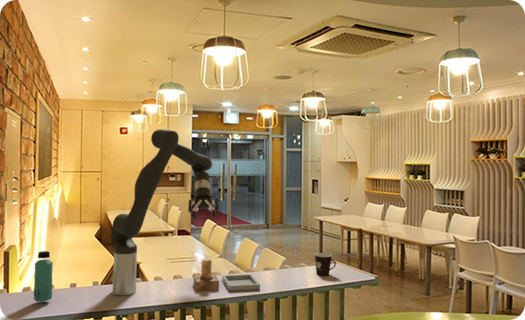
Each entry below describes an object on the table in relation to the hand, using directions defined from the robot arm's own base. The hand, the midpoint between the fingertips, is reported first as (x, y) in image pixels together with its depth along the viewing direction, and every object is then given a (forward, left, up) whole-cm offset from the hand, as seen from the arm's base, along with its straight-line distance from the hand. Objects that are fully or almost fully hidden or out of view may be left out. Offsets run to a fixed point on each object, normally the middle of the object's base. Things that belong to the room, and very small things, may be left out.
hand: (203, 218), depth 202 cm
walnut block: (+1, -9, -29) cm, 31 cm away
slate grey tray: (+17, -9, -29) cm, 35 cm away
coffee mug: (+63, +1, -30) cm, 69 cm away
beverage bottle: (-64, -19, -30) cm, 74 cm away
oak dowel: (+1, -9, -30) cm, 31 cm away
